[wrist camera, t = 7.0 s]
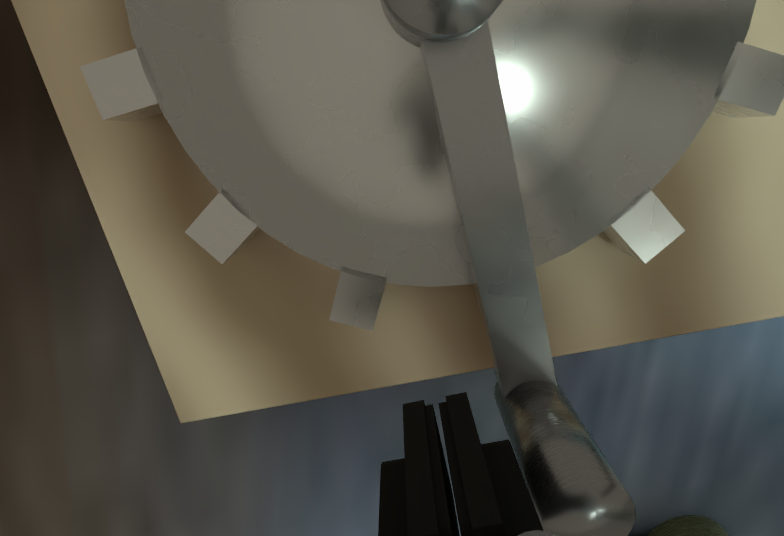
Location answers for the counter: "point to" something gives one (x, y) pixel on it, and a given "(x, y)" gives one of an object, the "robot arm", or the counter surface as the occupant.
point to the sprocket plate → (399, 302)
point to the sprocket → (448, 158)
